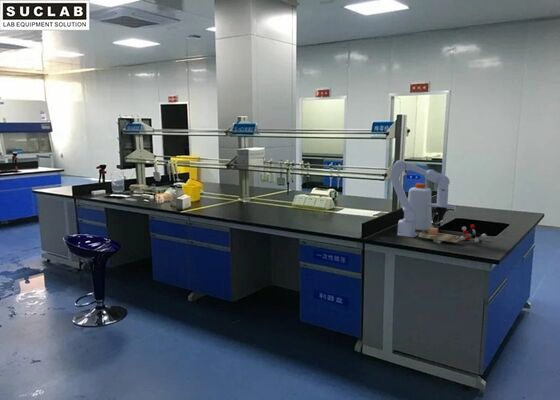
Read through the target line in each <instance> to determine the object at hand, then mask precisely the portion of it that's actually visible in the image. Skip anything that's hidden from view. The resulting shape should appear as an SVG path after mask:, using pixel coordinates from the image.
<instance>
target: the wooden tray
mask: <svg viewBox="0 0 560 400" xmlns="http://www.w3.org/2000/svg"><path fill="white" fill-rule="evenodd" d="M428 233H429V230H428V231H427V230H422V231H419V233H418V237H419V238H423V239H430V240H433V243H435V242H436V243H437V244H441V243H442V242H450V243H457V242H459V241H460V235H454V234H448V233H442V232H441V233H440V232H438V235H435V234H428Z"/></svg>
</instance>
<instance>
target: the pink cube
mask: <svg viewBox="0 0 560 400" xmlns="http://www.w3.org/2000/svg"><path fill="white" fill-rule="evenodd" d="M428 232H429V233H428V234H435V235H438V233H439V228H438V227H431V228H429V230H428Z"/></svg>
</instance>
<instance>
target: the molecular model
mask: <svg viewBox="0 0 560 400" xmlns="http://www.w3.org/2000/svg"><path fill="white" fill-rule="evenodd" d="M475 227H476V226H475V224H470V229H469V230H467V227H466V226H462V227H461V230H462V234H463V235H461V236H459V240H461V241H464V240H465V241H469V240H470V239H474V242H475V243H479V242H480V239H479V238H480V237H482V238H484V239H485V238H487V234H486V233H482V234H481V233H477V232H476V230H475ZM468 233H469V234H470V235H471V236H467V234H468ZM464 235H466V236H464Z"/></svg>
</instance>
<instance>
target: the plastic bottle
mask: <svg viewBox="0 0 560 400" xmlns="http://www.w3.org/2000/svg"><path fill="white" fill-rule="evenodd" d="M426 185H427V184H426V183H423V182H422V183H421V182H417V183H415V185H414V186H413V187H410V188H409V190H408V194H407V195H408V196H407V199H408V201H409V203H410V205H411V207H412V208H413V209H414V210H415V215H416V217H415V220H416V227H415V231H419V232H421V231H422V230H427V231H428V232H429V228H433V227H432V225H433V224H432V220H433V219H432V214H433V213H432V207H428V204H429V203H432V189H431V188H430V187H426Z"/></svg>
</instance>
